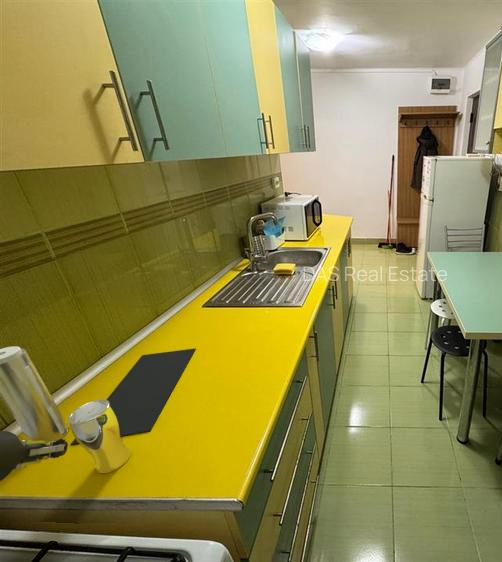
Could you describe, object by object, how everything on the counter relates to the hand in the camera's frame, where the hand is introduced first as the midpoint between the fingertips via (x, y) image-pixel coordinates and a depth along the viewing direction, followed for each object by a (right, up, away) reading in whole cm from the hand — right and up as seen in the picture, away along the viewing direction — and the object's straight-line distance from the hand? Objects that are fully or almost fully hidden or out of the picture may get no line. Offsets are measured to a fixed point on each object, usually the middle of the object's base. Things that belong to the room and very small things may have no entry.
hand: (61, 448), depth 56 cm
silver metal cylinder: (-22, -8, +19) cm, 31 cm away
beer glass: (-2, -10, +13) cm, 17 cm away
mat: (-11, -1, +35) cm, 36 cm away
